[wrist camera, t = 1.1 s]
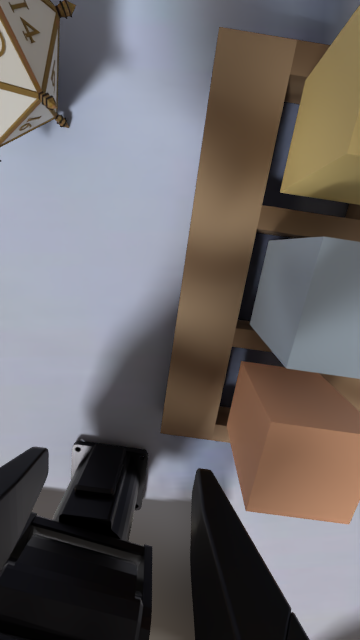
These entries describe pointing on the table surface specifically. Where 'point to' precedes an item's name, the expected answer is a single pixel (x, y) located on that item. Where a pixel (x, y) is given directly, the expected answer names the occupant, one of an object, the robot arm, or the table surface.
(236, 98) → the wooden slotted tray
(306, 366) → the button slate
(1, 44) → the game die
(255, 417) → the orange brown block
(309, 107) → the olive yellow block
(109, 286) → the table surface
